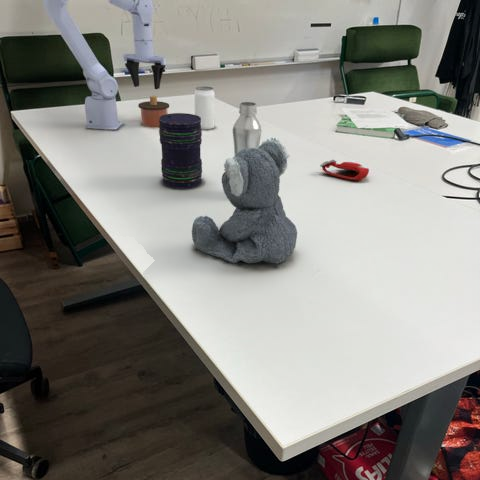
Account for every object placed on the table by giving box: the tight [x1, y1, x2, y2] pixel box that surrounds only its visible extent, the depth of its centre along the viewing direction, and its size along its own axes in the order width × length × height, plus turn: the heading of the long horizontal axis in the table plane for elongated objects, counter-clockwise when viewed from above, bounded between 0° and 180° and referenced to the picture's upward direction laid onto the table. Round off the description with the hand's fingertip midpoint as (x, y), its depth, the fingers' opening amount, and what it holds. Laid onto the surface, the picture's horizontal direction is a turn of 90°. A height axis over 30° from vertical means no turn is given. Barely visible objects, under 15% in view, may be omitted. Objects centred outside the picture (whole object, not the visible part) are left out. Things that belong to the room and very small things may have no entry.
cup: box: [140, 108, 169, 128], centre depth 159 cm, size 9×9×6 cm
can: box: [194, 85, 216, 131], centre depth 156 cm, size 6×6×12 cm
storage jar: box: [158, 112, 203, 190], centre depth 114 cm, size 10×10×15 cm
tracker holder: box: [319, 159, 370, 181], centre depth 125 cm, size 12×4×10 cm
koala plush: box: [191, 137, 298, 265], centre depth 85 cm, size 17×18×20 cm
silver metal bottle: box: [232, 101, 263, 157], centre depth 107 cm, size 6×7×20 cm
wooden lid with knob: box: [137, 95, 170, 110], centre depth 156 cm, size 10×10×3 cm
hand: (146, 87), depth 158 cm, fingers open, 7 cm apart
